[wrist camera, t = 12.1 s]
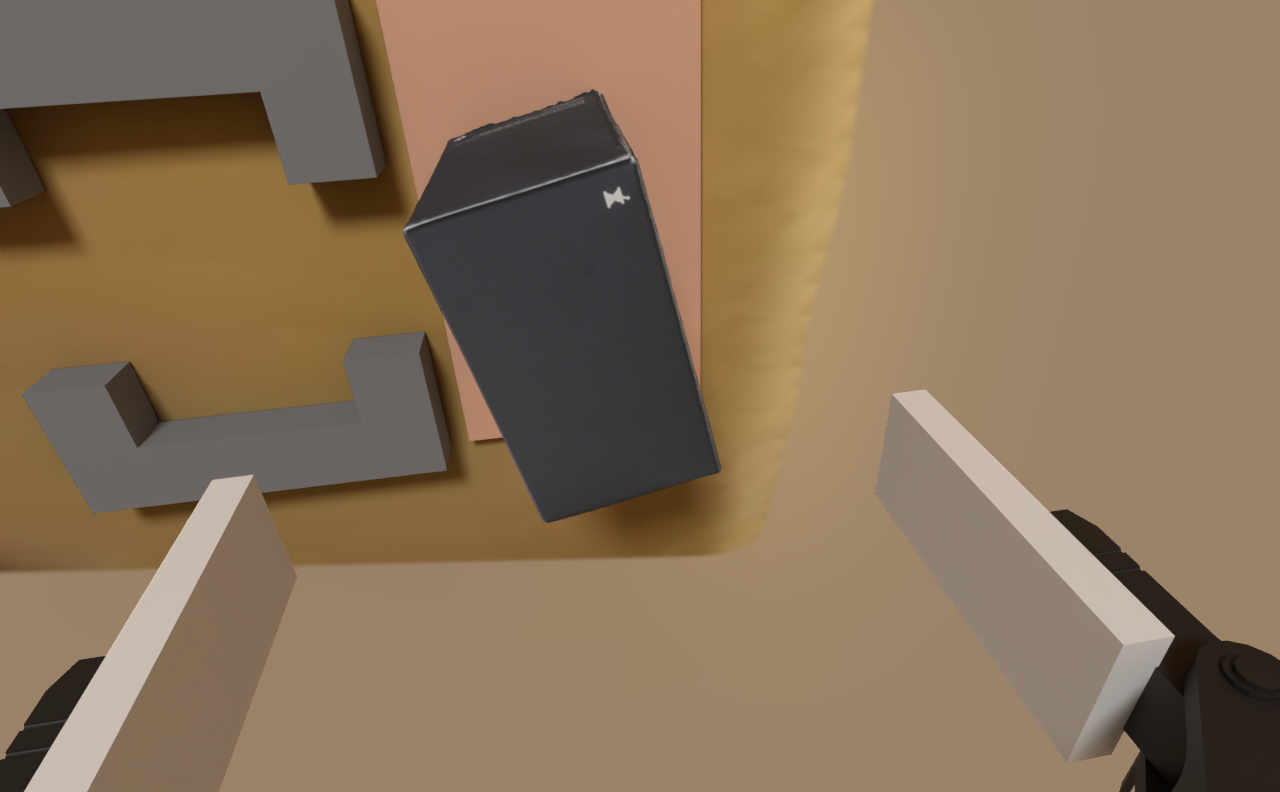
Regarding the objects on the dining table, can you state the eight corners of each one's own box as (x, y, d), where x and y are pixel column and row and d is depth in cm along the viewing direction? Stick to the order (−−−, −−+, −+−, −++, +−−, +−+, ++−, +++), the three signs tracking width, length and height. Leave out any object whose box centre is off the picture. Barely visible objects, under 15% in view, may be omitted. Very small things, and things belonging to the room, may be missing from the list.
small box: (432, 139, 25) (382, 225, 16) (601, 84, 25) (644, 139, 16) (533, 376, 31) (537, 535, 22) (672, 331, 31) (732, 473, 22)
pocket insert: (116, 484, 31) (92, 513, 30) (-153, 5, 21) (-212, 7, 20) (451, 445, 33) (446, 470, 31) (343, -21, 23) (329, -21, 21)
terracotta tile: (470, 433, 33) (469, 441, 32) (378, -5, 23) (374, -5, 23) (697, 407, 34) (700, 414, 33) (697, -22, 24) (700, -22, 24)
